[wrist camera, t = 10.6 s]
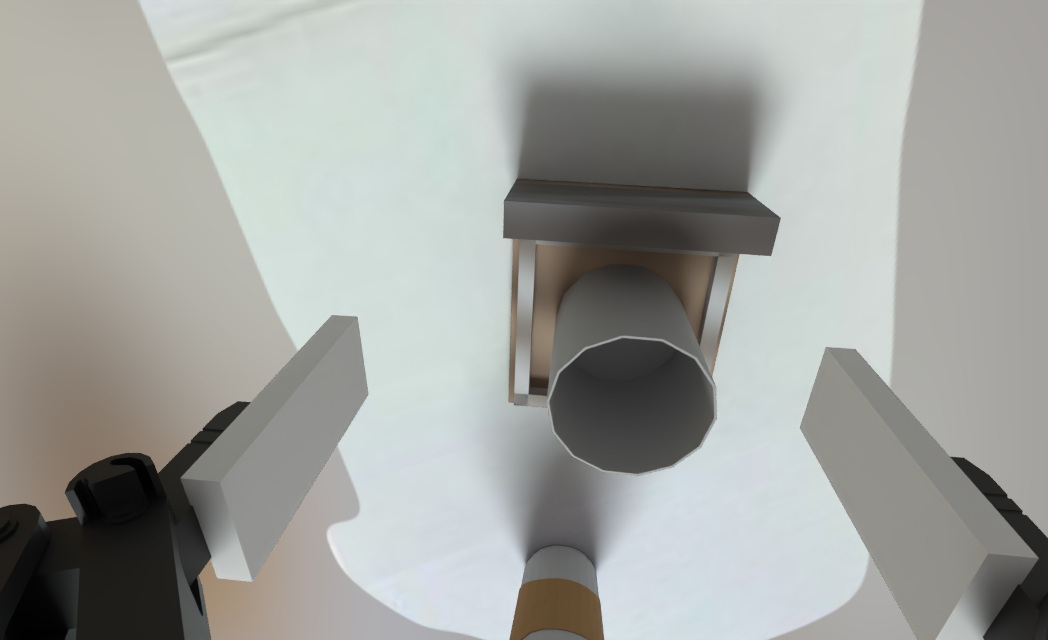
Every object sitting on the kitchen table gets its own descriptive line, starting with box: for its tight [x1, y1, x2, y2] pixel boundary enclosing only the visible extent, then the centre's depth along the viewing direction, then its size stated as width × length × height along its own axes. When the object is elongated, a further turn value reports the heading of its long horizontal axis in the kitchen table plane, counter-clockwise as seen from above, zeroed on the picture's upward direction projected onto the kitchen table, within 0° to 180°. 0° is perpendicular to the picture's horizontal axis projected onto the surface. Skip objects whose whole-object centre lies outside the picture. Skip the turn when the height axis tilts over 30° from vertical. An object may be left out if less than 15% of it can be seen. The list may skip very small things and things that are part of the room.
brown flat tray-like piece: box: [503, 179, 781, 408], centre depth 34 cm, size 16×14×6 cm
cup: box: [547, 264, 717, 476], centre depth 31 cm, size 8×8×10 cm
